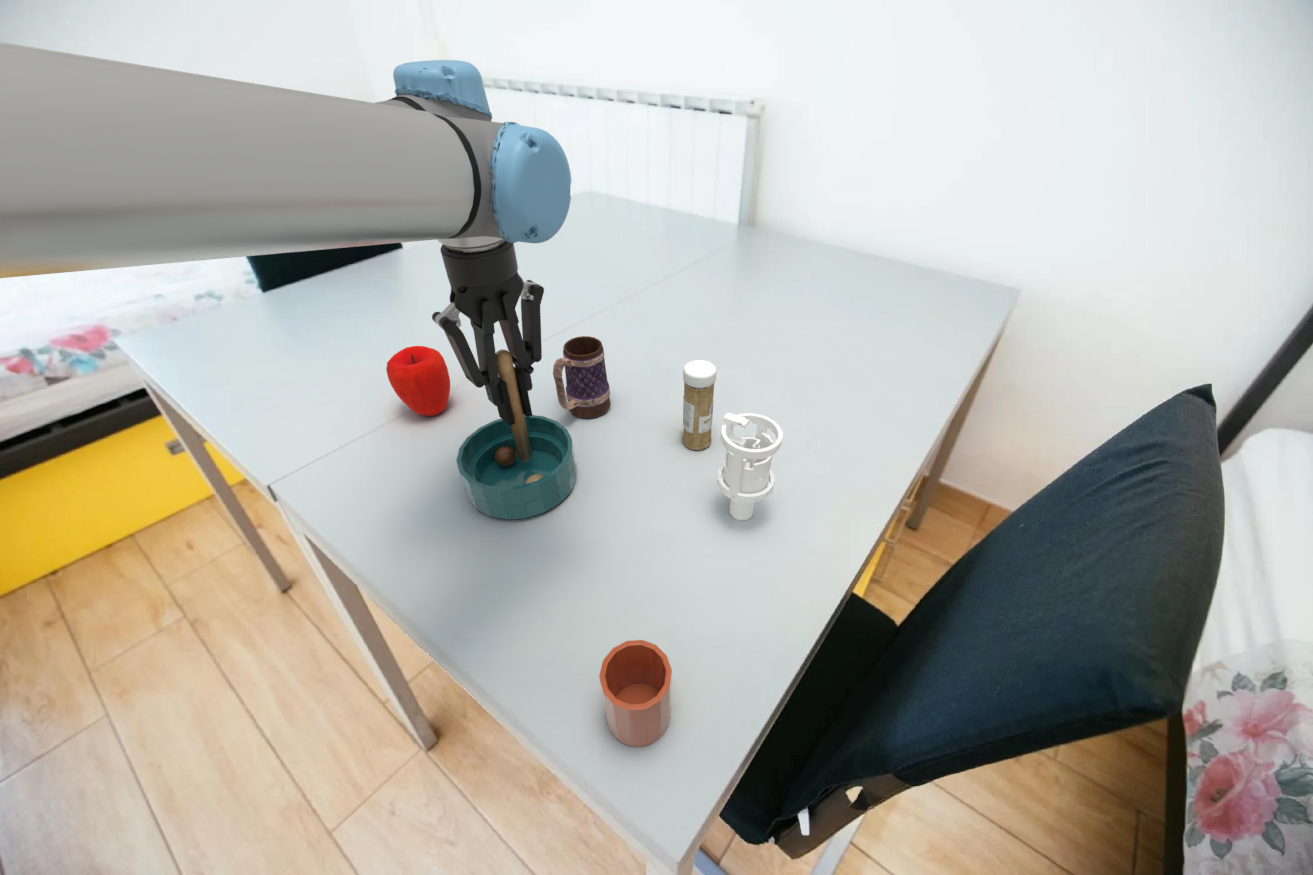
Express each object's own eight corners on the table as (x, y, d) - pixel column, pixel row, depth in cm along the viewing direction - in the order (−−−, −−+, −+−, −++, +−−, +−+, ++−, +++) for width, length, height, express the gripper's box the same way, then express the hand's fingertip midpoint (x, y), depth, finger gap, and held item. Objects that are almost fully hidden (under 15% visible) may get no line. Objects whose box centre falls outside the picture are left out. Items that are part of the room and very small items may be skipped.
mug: (587, 389, 93) (579, 327, 86) (619, 403, 90) (615, 340, 83) (546, 420, 87) (534, 356, 79) (579, 436, 84) (571, 371, 76)
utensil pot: (636, 763, 49) (632, 726, 44) (593, 710, 52) (585, 670, 47) (684, 714, 52) (686, 675, 47) (640, 667, 56) (638, 626, 50)
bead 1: (503, 474, 77) (499, 458, 75) (493, 463, 79) (488, 448, 77) (521, 464, 78) (518, 448, 76) (511, 454, 80) (507, 438, 78)
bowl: (503, 541, 68) (494, 509, 65) (448, 479, 77) (436, 448, 73) (598, 482, 76) (594, 450, 72) (538, 432, 85) (532, 401, 81)
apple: (399, 403, 91) (376, 347, 84) (451, 388, 94) (434, 333, 87) (408, 432, 85) (385, 375, 78) (464, 415, 88) (446, 358, 81)
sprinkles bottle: (712, 451, 81) (718, 376, 72) (682, 451, 81) (684, 377, 72) (709, 431, 84) (714, 358, 76) (680, 432, 84) (682, 358, 76)
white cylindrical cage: (729, 485, 75) (739, 398, 66) (776, 505, 72) (793, 418, 63) (704, 517, 71) (711, 429, 61) (753, 540, 68) (768, 452, 58)
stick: (523, 466, 76) (498, 356, 64) (516, 459, 77) (489, 350, 66) (536, 459, 77) (513, 350, 65) (528, 453, 78) (504, 344, 67)
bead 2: (534, 504, 72) (531, 488, 70) (522, 492, 74) (518, 477, 72) (553, 493, 74) (550, 477, 72) (541, 481, 76) (537, 466, 74)
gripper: (423, 270, 51) (479, 455, 66) (555, 231, 58) (578, 405, 74) (391, 249, 55) (450, 427, 70) (518, 214, 63) (547, 382, 78)
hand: (515, 415), depth 72 cm, fingers closed on stick, 2 cm apart
